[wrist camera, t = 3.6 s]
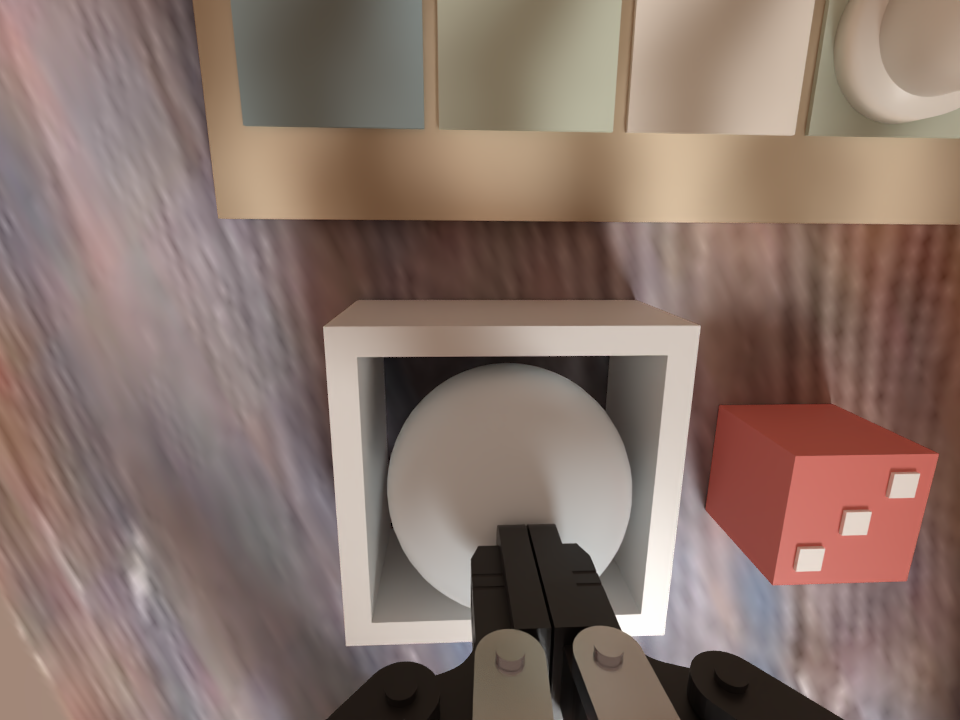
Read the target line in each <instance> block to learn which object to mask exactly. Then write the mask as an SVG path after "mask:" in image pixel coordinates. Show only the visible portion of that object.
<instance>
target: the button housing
mask: <svg viewBox="0 0 960 720" xmlns="http://www.w3.org/2000/svg"><path fill="white" fill-rule="evenodd" d="M700 328H701V325H698V324H695V323H693V322H690V321H688V320H685V319H683V318H680V317H678V316H675V315H673V314H670V313H668V312H665V311H663V310H660V309H658V308H655V307H653V306H650V305H648V304H645V303H643V302H640V301H638V300H357V301H356V302H355V303H353V304H352V305H351V306H349V307H348V308H347V309H345V310H344V311H343V312H342V313H340V314H339V315H338V316H336V317H335V318H334V319H332V320H331V321H330V322H328V323H327V324H326V325H325V326H323V332H324V346H325V360H326V374H327V388H328V402H329V416H330V429H331V443H332V457H333V471H334V485H335V499H336V513H337V527H338V541H339V555H340V569H341V583H342V597H343V611H344V625H345V638H346V646H364V645H393V644H421V643H450V642H472V627H471V608H469V607H466V606H464V605H461V604H460V603H458V602H456V601H454V600H452V599H450V598H449V597H447V596H445V595H444V594H442V593H441V592H440V591H438V590H437V589H435V588H434V587H433V586H432V585H431V584H430V583H429V582H427V581H426V580H425V579H424V578H423V577H422V575H421V574H420V573H419V572H418V571H417V569H416V568H415V567H414V566H413V564H412V563H411V562H410V561H409V559H408V557H407V556H406V554H405V552H404V551H403V549H402V547H401V545H400V542H399V540H398V538H397V535H396V533H395V531H394V529H391V520H390V512H389V505H388V497H387V477H388V449H387V425H386V401H385V377H384V357H465V356H610V359H609V372H608V386H607V399H606V413H607V414H608V416H609V418H610V419H611V421H612V422H613V424H614V425H615V427H616V429H617V430H618V432H619V434H620V437H621V439H622V441H623V443H624V446H625V450H626V453H627V457H628V460H629V464H630V468H631V476H632V506H631V513H630V518H629V522H628V525H627V529H626V532H625V535H624V538H623V541H622V543H621V545H620V547H619V549H618V551H617V553H616V554H615V556H614V557H613V559H612V561H611V562H610V564H609V565H608V567H607V568H606V569H605V570H604V572H603V573H602V574H601V575H600V577H599V578H600V580H601V584H602V586H603V587H604V590H605V592H606V595H607V597H608V599H609V602H610V604H611V606H612V609H613V611H614V614H615V616H616V618H617V621H618V623H619V625H620V628H621V630H622V631H623V632H625V633H627V634H628V635H630V636H649V635H664V632H665V623H666V615H667V607H668V598H669V590H670V581H671V573H672V564H673V556H674V547H675V539H676V531H677V522H678V514H679V505H680V497H681V488H682V480H683V472H684V463H685V455H686V446H687V438H688V429H689V421H690V412H691V404H692V396H693V387H694V379H695V370H696V362H697V353H698V345H699V337H700Z"/></svg>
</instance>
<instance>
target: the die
mask: <svg viewBox="0 0 960 720" xmlns="http://www.w3.org/2000/svg"><path fill="white" fill-rule="evenodd" d="M938 456H939V453H936V452H934V451H932V450H930V449H928V448H926V447H924V446H921V445H919V444H917V443H915V442H913V441H911V440H909V439H906V438H904V437H902V436H900V435H898V434H896V433H894V432H891V431H889V430H887V429H885V428H883V427H881V426H879V425H876V424H874V423H872V422H870V421H868V420H866V419H863V418H861V417H859V416H857V415H855V414H853V413H851V412H848V411H846V410H844V409H842V408H840V407H838V406H836V405H833V404H777V405H719V411H718V418H717V426H716V433H715V441H714V448H713V456H712V463H711V471H710V478H709V486H708V493H707V501H706V508H705V510H706V511H707V512H708V513H709V515H710V516H711V517H712V518H713V519H714V520H715V521H716V522H717V524H718V525H719V526H720V527H721V528H722V529H723V530H724V531H725V532H726V534H727V535H728V536H729V537H730V538H731V539H732V540H733V541H734V543H735V544H736V545H737V546H738V547H739V548H740V549H741V550H742V552H743V553H744V554H745V555H746V556H747V557H748V558H749V559H750V560H751V562H752V563H753V564H754V565H755V566H756V567H757V568H758V569H759V571H760V572H761V573H762V574H763V575H764V576H765V577H766V578H767V579H768V581H769V582H770V583H771V584H772V585H798V584H831V583H864V582H897V581H907V578H908V574H909V570H910V566H911V562H912V558H913V554H914V551H915V547H916V543H917V539H918V535H919V531H920V527H921V523H922V519H923V515H924V511H925V507H926V503H927V500H928V496H929V492H930V488H931V484H932V480H933V476H934V472H935V468H936V464H937V460H938Z"/></svg>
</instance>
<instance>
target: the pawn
mask: <svg viewBox="0 0 960 720" xmlns="http://www.w3.org/2000/svg"><path fill="white" fill-rule="evenodd" d="M834 67H835V73H836V77H837V81H838V84H839V86H840V89H841V91H842V93H843V95H844V96H845V98H846V100H847V101H848V102H849V103H850V105H851V106H852V107H853V108H854V109H855V110H856V111H857V112H859V113H860V114H862V115H863V116H865V117H866V118H868V119H871V120H873V121H876V122H880V123H885V124H902V123H907V122H912V121H917V120H921V119H925V118H930V117H934V116H938V115H943V114H945V113H948V112H951V111H954V110H956V109H958V108H960V0H849V2H848V4H847V5H846V7H845V10H844V12H843V14H842V16H841V19H840V22H839V25H838V28H837V32H836V37H835V44H834Z"/></svg>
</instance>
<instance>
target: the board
mask: <svg viewBox="0 0 960 720" xmlns="http://www.w3.org/2000/svg"><path fill="white" fill-rule="evenodd" d="M848 2H849V0H193V9H194V17H195V26H196V34H197V42H198V51H199V59H200V68H201V76H202V85H203V93H204V102H205V110H206V119H207V127H208V136H209V144H210V152H211V161H212V169H213V178H214V186H215V195H216V203H217V212H218V218H221V219H312V220H436V221H560V222H683V223H807V224H930V225H960V108H958V109H956V110H954V111H951V112H948V113H945V114H943V115H938V116H934V117H930V118H925V119H921V120H917V121H912V122H907V123H902V124H885V123H880V122H876V121H873V120H871V119H868V118H866V117H865V116H863V115H862V114H860V113H859V112H857V111H856V110H855V109H854V108H853V107H852V106H851V105H850V103H849V102H848V101H847V100H846V98H845V96H844V95H843V93H842V91H841V89H840V86H839V84H838V81H837V77H836V73H835V67H834V44H835V37H836V32H837V28H838V25H839V22H840V19H841V16H842V14H843V12H844V10H845V7H846V5H847V4H848Z"/></svg>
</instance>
